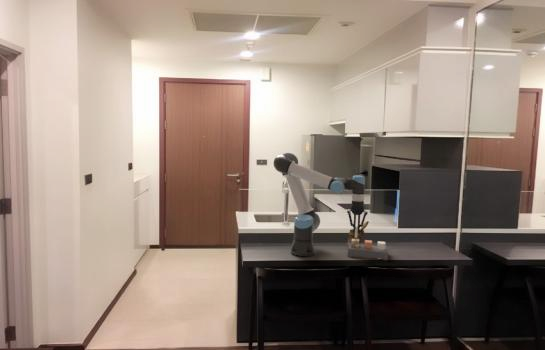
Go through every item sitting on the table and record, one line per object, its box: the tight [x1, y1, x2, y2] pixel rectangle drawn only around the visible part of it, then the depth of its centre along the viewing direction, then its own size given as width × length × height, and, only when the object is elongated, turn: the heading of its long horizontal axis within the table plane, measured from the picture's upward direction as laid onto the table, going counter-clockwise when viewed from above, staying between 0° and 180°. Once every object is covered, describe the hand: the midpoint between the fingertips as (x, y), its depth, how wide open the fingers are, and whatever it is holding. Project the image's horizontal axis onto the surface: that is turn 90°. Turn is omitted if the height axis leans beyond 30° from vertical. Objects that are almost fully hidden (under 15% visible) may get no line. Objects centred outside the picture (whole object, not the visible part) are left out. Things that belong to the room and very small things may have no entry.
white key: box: [376, 240, 386, 250], centre depth 251 cm, size 4×4×5 cm
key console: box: [347, 243, 389, 259], centre depth 253 cm, size 24×12×5 cm, turn 77°
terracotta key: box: [364, 239, 373, 249], centre depth 253 cm, size 4×4×5 cm
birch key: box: [351, 239, 359, 248], centre depth 254 cm, size 4×4×5 cm
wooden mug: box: [346, 221, 370, 248], centre depth 268 cm, size 9×14×18 cm, turn 87°
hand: (356, 237), depth 254 cm, fingers closed
